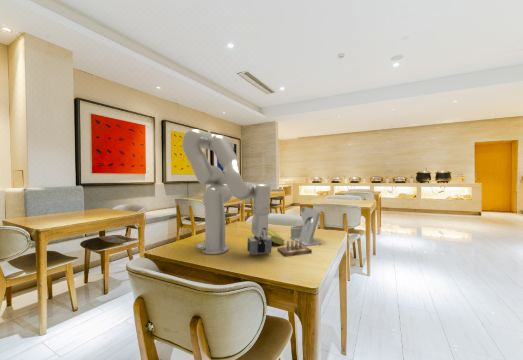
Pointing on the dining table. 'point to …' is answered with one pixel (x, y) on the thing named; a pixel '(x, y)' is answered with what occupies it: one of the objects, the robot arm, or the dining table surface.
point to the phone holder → (306, 227)
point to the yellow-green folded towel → (274, 237)
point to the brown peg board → (294, 249)
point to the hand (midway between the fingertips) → (259, 249)
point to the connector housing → (253, 245)
